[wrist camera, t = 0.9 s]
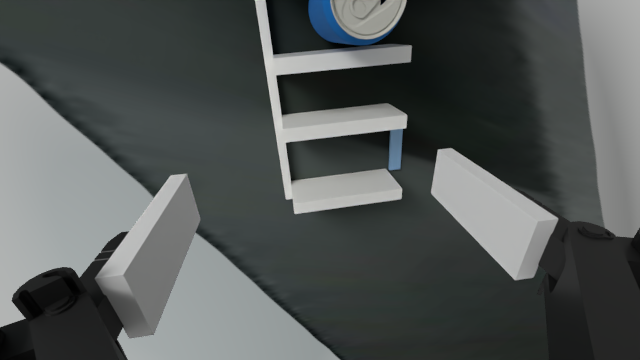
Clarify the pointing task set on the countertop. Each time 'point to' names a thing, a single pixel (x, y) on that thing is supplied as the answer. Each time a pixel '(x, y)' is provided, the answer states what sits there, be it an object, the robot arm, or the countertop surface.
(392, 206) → the countertop surface
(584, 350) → the robot arm
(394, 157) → the blue bezel
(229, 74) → the countertop surface
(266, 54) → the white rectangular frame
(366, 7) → the beverage can
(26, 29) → the countertop surface
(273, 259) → the countertop surface
